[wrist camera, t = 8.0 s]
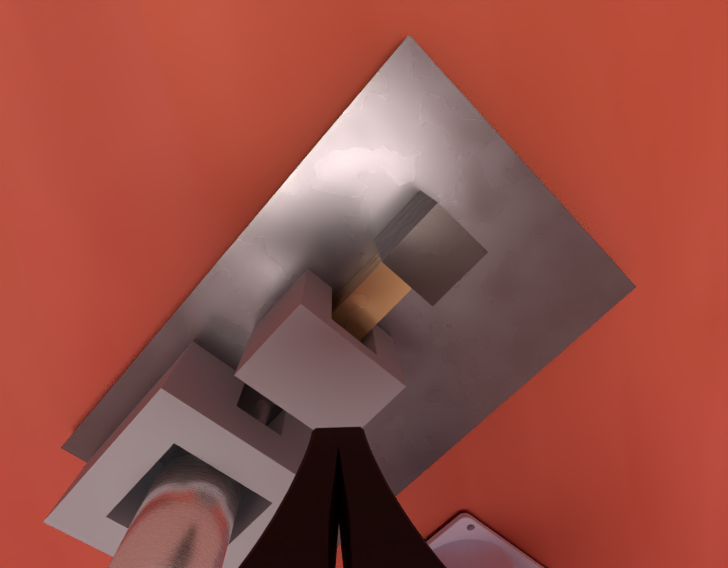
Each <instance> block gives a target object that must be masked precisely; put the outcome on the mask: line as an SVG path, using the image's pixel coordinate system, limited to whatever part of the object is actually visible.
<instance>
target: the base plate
mask: <svg viewBox="0 0 728 568" xmlns="http://www.w3.org/2000/svg"><path fill="white" fill-rule="evenodd" d="M420 190H421V191H422V192H424V193H425V194H426V195H428V196H429V197H431V198H432V199H434V200H435V201H436V202H438V203H439V204H440V205H441V206H442V207H443V208H444V209H445V210H446V211H447V212H448V213H449V214H450V215H451V216H452V217H453V218H454V219H455V220H456V221H457V222H458V223H459V224H460V225H461V226H462V227H463V228H464V229H465V230H466V231H467V232H468V233H469V234H470V235H471V236H473V237H474V238H475V239H476V240H477V241H478V242H479V243H480V244H481V245H482V246H483V247H484V248H485V249H486V250H487V251H488V253H487V254H486V255H485V256H484V257H483V258H482V259H481V260H480V261H479V262H478V263H477V264H476V265H475V266H474V267H473V268H472V269H471V270H470V271H469V272H468V273H466V274H465V275H464V276H463V277H462V278H461V279H460V280H459V281H458V282H457V283H456V284H455V285H454V286H453V287H452V288H451V289H450V290H449V291H448V292H447V293H446V294H445V295H444V296H443V297H442V298H441V299H440V300H439V301H438V302H437V303H436V304H435V305H434V306H433V307H432V306H431V305H430V304H429V303H428V302H427V301H426V300H424V299H423V298H422V297H421V296H420V295H419V294H418V293H417V292H415V291H414V290H413V289H411V290H410V291H409V292H408V293H407V294H406V295H405V296H404V297H403V298H402V299H401V300H400V301H399V302H398V303H397V304H396V305H395V306H394V307H393V308H392V309H391V310H390V311H389V312H388V313H387V314H386V315H385V316H384V317H383V318H382V319H381V320H380V321H379V322H378V323H377V324H376V325H377V326H379V327H380V328H381V329H382V330H384V331H385V332H386V333H387V334H388V335H390V336H391V337H392V338H393V341H394V345H395V348H396V352H397V356H398V359H399V363H400V367H401V370H402V374H403V377H404V381H405V385H406V387H405V388H404V389H403V390H402V391H401V392H400V393H399V394H398V395H397V396H396V397H394V398H393V399H392V400H391V401H390V402H389V403H388V404H387V405H386V406H385V407H384V408H383V409H382V410H381V411H380V412H378V413H377V414H376V415H375V416H374V417H373V418H372V419H371V420H370V421H369V422H368V423H367V424H366V425H365V426H364V427H363V428H362V429H364V431H365V435H366V438H367V441H368V444H369V446H370V449H371V451H372V453H373V456H374V458H375V460H376V462H377V464H378V466H379V468H380V470H381V472H382V474H383V476H384V478H385V480H386V481H387V483H388V485H389V487H390V489H391V490H392V492H393V494H394V496H396V495H397V494H399V493H400V492H401V491H402V490H403V489H404V488H405V487H407V486H408V485H409V484H410V483H411V482H412V481H414V480H415V479H416V478H417V477H418V476H419V475H420V474H422V473H423V472H424V471H425V470H426V469H427V468H429V467H430V466H431V465H432V464H433V463H434V462H435V461H437V460H438V459H439V458H440V457H441V456H442V455H443V454H445V453H446V452H447V451H448V450H449V449H450V448H452V447H453V446H454V445H455V444H456V443H457V442H458V441H460V440H461V439H462V438H463V437H464V436H465V435H466V434H468V433H469V432H470V431H471V430H472V429H473V428H475V427H476V426H477V425H478V424H479V423H480V422H481V421H483V420H484V419H485V418H486V417H487V416H488V415H489V414H491V413H492V412H493V411H494V410H495V409H496V408H498V407H499V406H500V405H501V404H502V403H503V402H504V401H506V400H507V399H508V398H509V397H510V396H511V395H512V394H514V393H515V392H516V391H517V390H518V389H519V388H521V387H522V386H523V385H524V384H525V383H526V382H527V381H529V380H530V379H531V378H532V377H533V376H534V375H535V374H537V373H538V372H539V371H540V370H541V369H542V368H544V367H545V366H546V365H547V364H548V363H549V362H550V361H552V360H553V359H554V358H555V357H556V356H557V355H558V354H560V353H561V352H562V351H563V350H564V349H565V348H567V347H568V346H569V345H570V344H571V343H572V342H573V341H575V340H576V339H577V338H578V337H579V336H580V335H581V334H583V333H584V332H585V331H586V330H587V329H588V328H590V327H591V326H592V325H593V324H594V323H595V322H596V321H598V320H599V319H600V318H601V317H602V316H603V315H604V314H606V313H607V312H608V311H609V310H610V309H611V308H613V307H614V306H615V305H616V304H617V303H618V302H619V301H621V300H622V299H623V298H624V297H625V296H626V295H627V294H629V293H630V292H631V291H632V290H633V289H634V288H636V286H635V285H634V284H633V283H632V282H631V280H630V279H629V278H628V277H627V276H626V275H625V274H624V273H623V272H622V270H621V269H620V268H619V267H618V266H617V265H616V264H615V263H614V262H613V260H612V259H611V258H610V257H609V256H608V255H607V254H606V253H605V252H604V251H603V249H602V248H601V247H600V246H599V245H598V244H597V243H596V242H595V241H594V239H593V238H592V237H591V236H590V235H589V234H588V233H587V232H586V231H585V229H584V228H583V227H582V226H581V225H580V224H579V223H578V222H577V221H576V219H575V218H574V217H573V216H572V215H571V214H570V213H569V212H568V211H567V209H566V208H565V207H564V206H563V205H562V204H561V203H560V202H559V201H558V199H557V198H556V197H555V196H554V195H553V194H552V193H551V192H550V191H549V189H548V188H547V187H546V186H545V185H544V184H543V183H542V182H541V181H540V179H539V178H538V177H537V176H536V175H535V174H534V173H533V172H532V171H531V169H530V168H529V167H528V166H527V165H526V164H525V163H524V162H523V161H522V160H521V158H520V157H519V156H518V155H517V154H516V153H515V152H514V151H513V150H512V148H511V147H510V146H509V145H508V144H507V143H506V142H505V141H504V140H503V138H502V137H501V136H500V135H499V134H498V133H497V132H496V131H495V130H494V128H493V127H492V126H491V125H490V124H489V123H488V122H487V121H486V120H485V118H484V117H483V116H482V115H481V114H480V113H479V112H478V111H477V110H476V108H475V107H474V106H473V105H472V104H471V103H470V102H469V101H468V100H467V98H466V97H465V96H464V95H463V94H462V93H461V92H460V91H459V90H458V88H457V87H456V86H455V85H454V84H453V83H452V82H451V81H450V80H449V78H448V77H447V76H446V75H445V74H444V73H443V72H442V71H441V70H440V69H439V67H438V66H437V65H436V64H435V63H434V62H433V61H432V60H431V59H430V57H429V56H428V55H427V54H426V53H425V52H424V51H423V50H422V49H421V47H420V46H419V45H418V44H417V43H416V42H415V41H414V40H413V39H412V37H411V36H410V35H408V37H407V38H406V39H405V40H404V41H403V42H402V44H401V45H400V46H399V47H398V48H397V50H396V51H395V52H394V53H393V54H392V56H391V57H390V58H389V59H388V60H387V61H386V63H385V64H384V65H383V66H382V67H381V69H380V70H379V71H378V72H377V73H376V74H375V76H374V77H373V78H372V79H371V80H370V82H369V83H368V84H367V85H366V86H365V88H364V89H363V90H362V91H361V92H360V93H359V95H358V96H357V97H356V98H355V99H354V101H353V102H352V103H351V104H350V105H349V107H348V108H347V109H346V110H345V111H344V112H343V114H342V115H341V116H340V117H339V118H338V120H337V121H336V122H335V123H334V124H333V125H332V127H331V128H330V129H329V130H328V131H327V133H326V134H325V135H324V136H323V137H322V139H321V140H320V141H319V142H318V143H317V144H316V146H315V147H314V148H313V149H312V150H311V152H310V153H309V154H308V155H307V156H306V158H305V159H304V160H303V161H302V162H301V163H300V165H299V166H298V167H297V168H296V169H295V171H294V172H293V173H292V174H291V175H290V177H289V178H288V179H287V180H286V181H285V182H284V184H283V185H282V186H281V187H280V188H279V190H278V191H277V192H276V193H275V194H274V195H273V197H272V198H271V199H270V200H269V201H268V203H267V204H266V205H265V206H264V207H263V209H262V210H261V211H260V212H259V213H258V214H257V216H256V217H255V218H254V219H253V220H252V222H251V223H250V224H249V225H248V226H247V228H246V229H245V230H244V231H243V232H242V233H241V235H240V236H239V237H238V238H237V239H236V241H235V242H234V243H233V244H232V245H231V246H230V248H229V249H228V250H227V251H226V252H225V254H224V255H223V256H222V257H221V258H220V260H219V261H218V262H217V263H216V264H215V265H214V267H213V268H212V269H211V270H210V271H209V273H208V274H207V275H206V276H205V277H204V279H203V280H202V281H201V282H200V283H199V284H198V286H197V287H196V288H195V289H194V290H193V292H192V293H191V294H190V295H189V296H188V298H187V299H186V300H185V301H184V302H183V303H182V305H181V306H180V307H179V308H178V309H177V311H176V312H175V313H174V314H173V315H172V316H171V318H170V319H169V320H168V321H167V322H166V324H165V325H164V326H163V327H162V328H161V330H160V331H159V332H158V333H157V334H156V335H155V337H154V338H153V339H152V340H151V341H150V343H149V344H148V345H147V346H146V347H145V349H144V350H143V351H142V352H141V353H140V354H139V356H138V357H137V358H136V359H135V360H134V362H133V363H132V364H131V365H130V366H129V367H128V369H127V370H126V371H125V372H124V373H123V375H122V376H121V377H120V378H119V379H118V381H117V382H116V383H115V384H114V385H113V386H112V388H111V389H110V390H109V391H108V392H107V394H106V395H105V396H104V397H103V398H102V400H101V401H100V402H99V403H98V404H97V405H96V407H95V408H94V409H93V410H92V411H91V413H90V414H89V415H88V416H87V417H86V418H85V420H84V421H83V422H82V423H81V424H80V426H79V427H78V428H77V429H76V430H75V432H74V433H73V434H72V435H71V436H70V437H69V439H68V440H67V441H66V442H65V443H64V445H63V446H62V447H61V448H62V449H64V450H66V451H67V452H69V453H71V454H73V455H74V456H76V457H78V458H80V459H82V460H83V461H85V462H87V463H88V461H89V460H90V459H91V457H92V456H93V455H94V454H95V453H96V452H97V450H98V449H99V448H100V447H101V446H102V445H103V444H104V442H105V441H106V440H107V439H108V438H109V437H110V436H111V434H112V433H113V432H114V431H115V430H116V429H117V428H118V426H119V425H120V424H121V423H122V422H123V421H124V419H125V418H126V417H127V416H128V415H129V414H130V413H131V411H132V410H133V409H134V408H135V407H136V406H137V405H138V403H139V402H140V401H141V400H142V399H143V398H144V397H145V395H146V394H147V393H148V392H149V391H150V390H151V389H152V387H153V386H154V385H155V384H156V383H157V382H158V381H159V379H160V378H161V377H162V376H163V375H164V374H165V373H166V371H167V370H168V369H169V368H170V367H171V366H172V365H173V363H174V362H175V361H176V360H177V359H178V358H179V357H180V355H181V354H182V353H183V352H184V351H185V350H186V349H187V347H188V346H189V345H190V344H191V343H192V342H195V343H196V344H198V345H199V346H201V347H202V348H203V349H205V350H206V351H208V352H209V353H211V354H212V355H213V356H215V357H216V358H218V359H219V360H221V361H222V362H224V363H225V364H226V365H228V366H229V367H231V368H232V369H234V370H235V371H236V370H237V367H238V365H239V362H240V360H241V358H242V355H243V353H244V350H245V348H246V346H247V343H248V341H249V338H250V336H251V334H252V331H253V329H254V327H255V326H256V325H257V324H258V322H259V321H260V320H261V319H262V318H263V317H264V316H265V315H266V314H267V313H268V311H269V310H270V309H271V308H272V307H273V306H274V305H275V304H276V303H277V302H278V300H279V299H280V298H281V297H282V296H283V295H284V294H285V293H286V292H287V291H288V289H289V288H290V287H291V286H292V285H293V284H294V283H295V282H296V281H297V280H298V278H299V277H300V276H301V275H302V274H303V273H304V272H305V271H306V270H307V269H309V270H310V271H312V272H313V273H314V274H315V275H317V276H318V277H319V278H320V279H321V280H323V281H324V282H325V283H326V284H328V285H329V286H330V287H331V288H332V299H333V298H334V297H335V296H336V295H337V293H338V292H339V291H340V290H341V289H342V288H343V287H344V286H345V285H346V284H347V283H348V282H349V281H350V280H351V279H352V278H353V277H354V275H355V274H356V273H357V272H358V271H359V270H360V269H361V268H362V267H363V266H364V265H365V264H366V263H367V262H368V261H369V260H370V259H371V258H372V256H373V255H374V254H375V253H376V252H377V251H378V250H377V247H376V244H375V241H374V239H375V238H376V237H377V236H378V235H379V234H380V232H381V231H382V230H383V229H384V228H385V227H386V226H387V225H388V224H389V223H390V222H391V221H392V220H393V219H394V218H395V216H396V215H397V214H398V213H399V212H400V211H401V210H402V209H403V208H404V207H405V206H406V205H407V204H408V203H409V202H410V200H411V199H412V198H413V197H414V196H415V195H416V194H417V193H418V192H419V191H420ZM237 407H239V408H240V409H242V410H243V411H245V412H246V413H248V414H249V415H251V416H252V417H254V418H255V419H257V420H258V421H260V422H261V423H263V424H264V425H266V426H268V425H269V424H270V423H271V422H272V421H273V420H274V419H275V418H276V417H277V416H278V415H279V414H280V413H281V412H282V411H283V410H284V409H282V408H281V407H279V406H278V405H276V404H275V403H273V402H272V401H271V400H269V399H268V398H266V397H265V396H263V395H262V394H260V393H259V392H258V391H256V390H255V389H253V388H252V387H250V386H249V385H247V384H246V383H244V386H243V389H242V392H241V395H240V397H239V400H238V403H237ZM171 447H172V446H171ZM171 447H170V448H169V449H168V450H167V451H166V452H165V454H164V455H163V456H162V457H161V458H160V459H159V460H158V461H159V462H161V463H162V464H163V462H164V460H165V458H166V457H167V455H168V453H169V451H170V449H171ZM340 544H341V540H340V530H339V529H338V541H337V547H338V546H339V545H340Z"/></svg>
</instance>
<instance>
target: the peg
mask: <svg viewBox="0 0 728 568" xmlns="http://www.w3.org/2000/svg"><path fill="white" fill-rule="evenodd" d="M243 488H244V485H242V484H240V483H239V482H237V481H236V480H234V479H232V478H231V477H229V476H227V475H226V474H224V473H222V472H221V471H219V470H217V469H216V468H214V467H213V466H211V465H209V464H208V463H206V462H204V461H203V460H201V459H199V458H198V457H196V456H194V455H193V454H191V453H189V452H188V451H186V450H185V449H183V448H181V447H180V446H178V445H176V444H175V443H174V444H173V445H172V447H171V449H170V451H169V453H168V455H167V457H166V458H165V460H164V462H163V464H162V466H161V468H160V470H159V472H158V474H157V475H156V477H155V479H154V481H153V483H152V485H151V487H150V489H149V491H148V493H147V494H146V496H145V498H144V500H143V502H142V504H141V506H140V508H139V510H138V511H137V513H136V515H135V517H134V519H133V521H132V523H131V525H130V527H129V528H128V530H127V532H126V534H125V536H124V538H123V540H122V542H121V544H120V545H119V547H118V549H117V551H116V553H115V555H114V557H113V559H112V561H111V562H110V564H109V566H108V568H222V566H223V562H224V558H225V555H226V551H227V547H228V544H229V540H230V536H231V532H232V529H233V525H234V521H235V518H236V514H237V510H238V507H239V503H240V499H241V496H242V492H243Z"/></svg>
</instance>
